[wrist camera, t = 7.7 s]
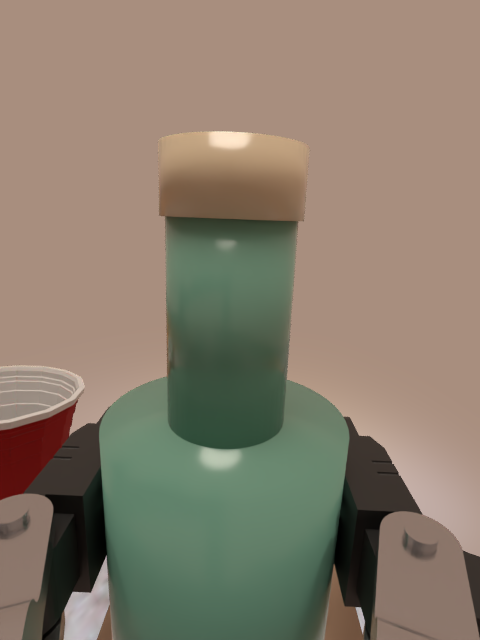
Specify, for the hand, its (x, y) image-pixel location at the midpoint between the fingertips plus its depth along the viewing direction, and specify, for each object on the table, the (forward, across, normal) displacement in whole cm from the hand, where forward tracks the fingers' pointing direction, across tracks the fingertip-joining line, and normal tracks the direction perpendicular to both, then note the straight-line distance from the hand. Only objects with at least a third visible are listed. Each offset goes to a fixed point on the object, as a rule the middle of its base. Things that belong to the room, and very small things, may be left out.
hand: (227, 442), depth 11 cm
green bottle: (-2, 0, +8) cm, 8 cm away
